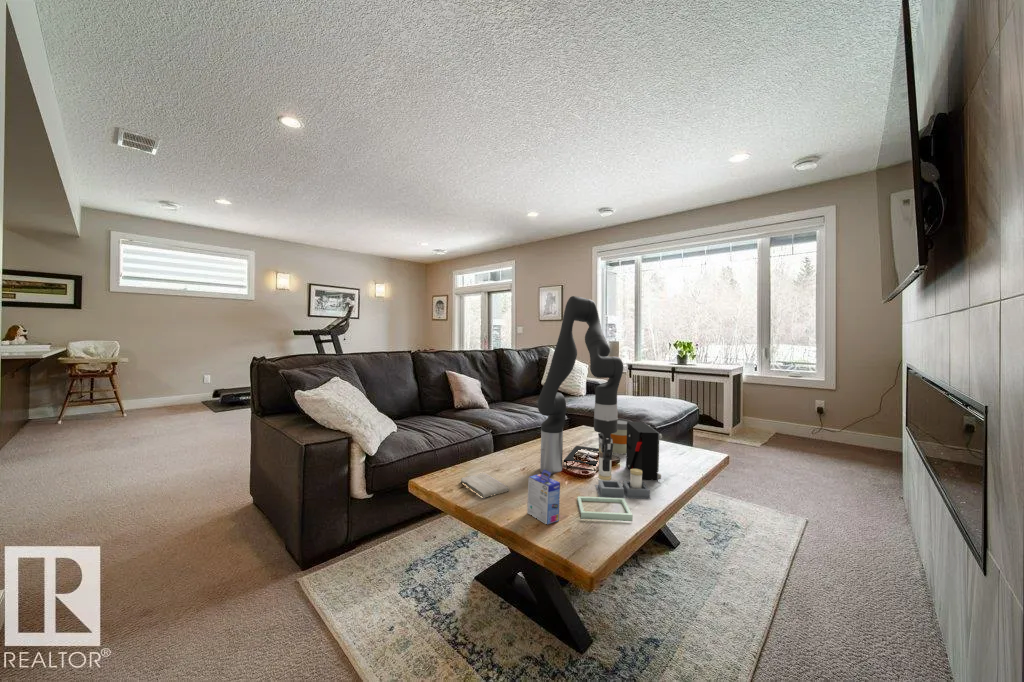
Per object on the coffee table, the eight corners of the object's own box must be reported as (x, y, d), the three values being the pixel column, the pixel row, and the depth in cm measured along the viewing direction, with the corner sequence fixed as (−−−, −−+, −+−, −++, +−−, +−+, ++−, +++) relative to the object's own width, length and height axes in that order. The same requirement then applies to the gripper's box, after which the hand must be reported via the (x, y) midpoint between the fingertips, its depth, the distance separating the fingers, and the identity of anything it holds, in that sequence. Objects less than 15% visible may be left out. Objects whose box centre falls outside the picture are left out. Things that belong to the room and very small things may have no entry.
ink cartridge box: (560, 520, 120) (561, 475, 120) (547, 526, 117) (548, 479, 116) (539, 508, 128) (540, 465, 128) (526, 513, 125) (527, 469, 124)
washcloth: (483, 477, 156) (483, 469, 156) (510, 492, 141) (510, 484, 141) (457, 484, 148) (457, 476, 148) (483, 501, 134) (483, 492, 134)
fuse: (599, 480, 125) (600, 449, 125) (597, 475, 129) (598, 445, 129) (612, 480, 125) (613, 450, 124) (610, 475, 129) (610, 446, 129)
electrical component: (662, 483, 152) (663, 433, 151) (636, 482, 152) (637, 432, 151) (647, 467, 169) (648, 422, 169) (624, 466, 169) (625, 421, 169)
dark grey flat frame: (563, 466, 170) (563, 459, 170) (575, 451, 191) (575, 445, 191) (595, 471, 164) (596, 464, 164) (604, 455, 186) (604, 449, 185)
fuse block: (599, 499, 136) (599, 474, 135) (594, 487, 147) (595, 463, 146) (651, 502, 134) (651, 476, 134) (642, 489, 145) (643, 465, 145)
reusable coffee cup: (602, 451, 191) (602, 421, 190) (613, 445, 200) (613, 417, 200) (626, 456, 183) (626, 425, 182) (636, 450, 192) (637, 421, 192)
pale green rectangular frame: (581, 518, 122) (581, 512, 122) (577, 501, 134) (577, 496, 134) (632, 521, 121) (632, 514, 121) (623, 504, 133) (624, 498, 132)
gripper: (591, 412, 134) (590, 461, 134) (597, 421, 119) (596, 476, 120) (612, 412, 133) (612, 461, 134) (622, 422, 119) (621, 477, 119)
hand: (604, 468), depth 127 cm, fingers closed on fuse, 4 cm apart
